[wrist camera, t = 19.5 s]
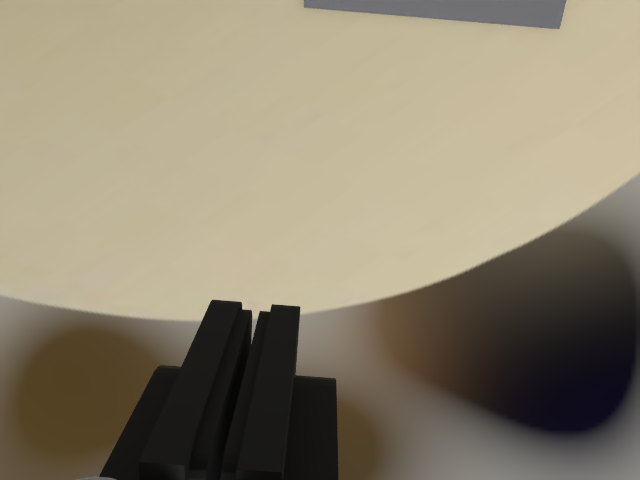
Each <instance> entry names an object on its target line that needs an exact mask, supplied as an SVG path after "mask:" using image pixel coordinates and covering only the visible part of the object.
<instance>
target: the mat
mask: <svg viewBox="0 0 640 480" xmlns="http://www.w3.org/2000/svg"><path fill="white" fill-rule="evenodd" d="M565 3H566V0H304V8H316V9H328V10H340V11H351V12H363V13H375V14H387V15H398V16H410V17H422V18H434V19H445V20H457V21H469V22H481V23H492V24H504V25H516V26H528V27H539V28H551V29H560V25H561V20H562V16H563V12H564V7H565Z"/></svg>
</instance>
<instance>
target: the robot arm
mask: <svg viewBox="0 0 640 480" xmlns="http://www.w3.org/2000/svg"><path fill="white" fill-rule="evenodd" d="M299 318H300V307H299V306H286V305H273V304H272V306H271V311H270V312H266V311H260V313H259V317H258V321H257V325H256V329H255V333H254V337H253V340H252V344H251V333H252V311H251V310H242V303H241V302H234V301H221V300H212V301H211V302H210V305H209V307H208V309H207V311H206V313H205V316H204V318H203V320H202V322H201V325H200V327H199V329H198V331H197V333H196V336H195V338H194V340H193V342H192V344H191V347H190V349H189V351H188V354H187V356H186V358H185V360H184V362H183V364H182V367H176V366H163V365H161V366H159V367H157V369H156V370H155V371H154V373H153V375H152V377H151V379H150V381H149V383H148V384H147V387H146V388H145V390H144V392H143V394H142V396H141V398H140V400H139V402H138V404H137V405H136V407H135V409H134V411H133V413H132V415H131V417H130V419H129V421H128V422H127V424H126V426H125V428H124V430H123V432H122V434H121V436H120V438H119V440H118V442H117V443H116V445H115V447H114V449H113V451H112V453H111V455H110V457H109V459H108V461H107V462H106V464H105V466H104V468H103V470H102V472H101V474H100V476H99V477H89V478H83V479H77V480H338V446H337V445H338V444H337V401H336V400H337V398H336V397H337V396H336V379H335V378H322V377H309V376H296V375H295V373H296V360H297V346H298V331H299Z"/></svg>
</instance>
